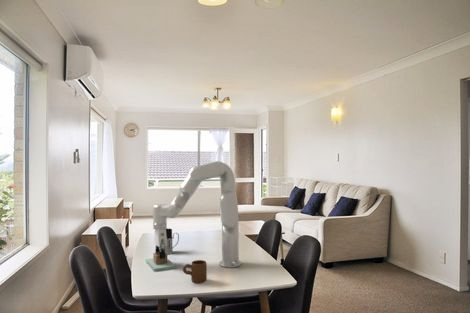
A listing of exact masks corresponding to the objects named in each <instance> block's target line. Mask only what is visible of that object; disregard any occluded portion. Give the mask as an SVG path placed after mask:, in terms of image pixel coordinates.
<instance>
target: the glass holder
mask: <svg viewBox="0 0 470 313" xmlns="http://www.w3.org/2000/svg"><path fill="white" fill-rule="evenodd" d="M175 234H176V235H177V242H176V243H175V245H174V246H173V239H174V237H175V236H174V235H175ZM166 236H167V246H165V253H166V254H167V256H168V255H172V254H174V251H173V249H174V248H175V247H176V246H177V245H178V243H179V241H180V235H179V233H178V232H173V229H172V228H166ZM161 246H162V245H161Z"/></svg>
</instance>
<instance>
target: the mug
mask: <svg viewBox="0 0 470 313" xmlns="http://www.w3.org/2000/svg"><path fill="white" fill-rule="evenodd" d="M207 264H208V263H207V260H201V259H199V260H197V259H196V260H193V261H191V264H190V263H187V264H184V265H183V267H182V272H183V274H185V275H189V276H190V277H191V279H190V280H191V282H192V283H194V284H204V283H206V282H207V279H208V276H207V275H208V274H207V271H208V270H207V269H208V267H207ZM187 268H189V269H190V270H187Z"/></svg>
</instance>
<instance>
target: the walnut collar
mask: <svg viewBox="0 0 470 313" xmlns="http://www.w3.org/2000/svg"><path fill="white" fill-rule="evenodd" d="M152 254H153V256H152V259H153V262H154V263H155V264H156V265H158V264H165V263H167V258H168V255H167V254H166V253H165V258H163V259H159V253H155V252H154V253H152Z"/></svg>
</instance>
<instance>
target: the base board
mask: <svg viewBox="0 0 470 313" xmlns="http://www.w3.org/2000/svg"><path fill="white" fill-rule="evenodd" d="M145 263H146V264H147V265H148V266H149V267H150V268H151V270H152V271H153V272H161V271H167V270H173V269H176V264H175V263H173V262H172V261H171V260H170V259H169V258H168V257H167V263H165V264H158V265H156V264H155V263H154V262H153V258H149V259H148V258H147V259H145Z"/></svg>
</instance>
